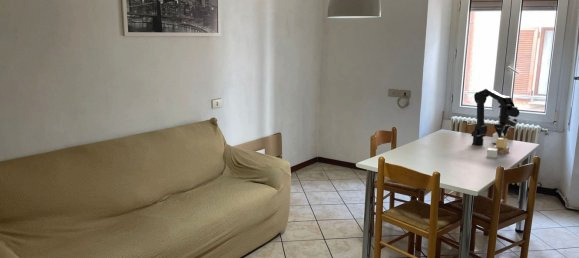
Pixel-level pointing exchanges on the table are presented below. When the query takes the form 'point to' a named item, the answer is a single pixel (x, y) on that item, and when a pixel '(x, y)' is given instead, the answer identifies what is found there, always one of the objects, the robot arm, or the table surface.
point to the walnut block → (502, 150)
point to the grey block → (492, 152)
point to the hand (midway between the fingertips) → (502, 136)
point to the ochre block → (501, 142)
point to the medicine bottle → (495, 137)
